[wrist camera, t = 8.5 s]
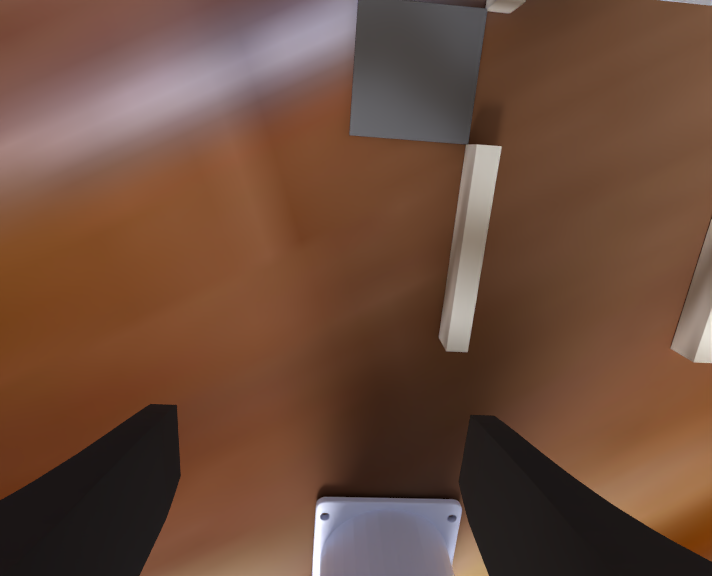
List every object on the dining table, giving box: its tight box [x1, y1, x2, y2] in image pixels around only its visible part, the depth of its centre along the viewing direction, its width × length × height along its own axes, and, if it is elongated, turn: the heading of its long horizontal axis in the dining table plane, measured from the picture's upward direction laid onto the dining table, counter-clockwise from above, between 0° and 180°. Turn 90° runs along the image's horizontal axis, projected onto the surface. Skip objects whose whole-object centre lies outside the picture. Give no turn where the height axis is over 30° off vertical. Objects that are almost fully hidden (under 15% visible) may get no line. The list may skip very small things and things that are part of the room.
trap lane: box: [349, 0, 712, 363], centre depth 17 cm, size 24×23×3 cm
